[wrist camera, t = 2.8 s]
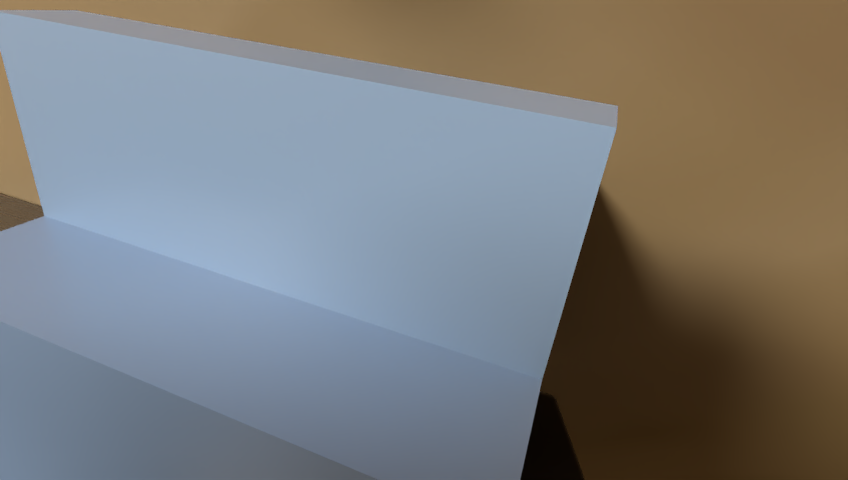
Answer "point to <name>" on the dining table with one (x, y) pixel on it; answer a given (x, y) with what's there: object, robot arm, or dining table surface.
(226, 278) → the servo block
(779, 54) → the dining table surface
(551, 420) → the robot arm
